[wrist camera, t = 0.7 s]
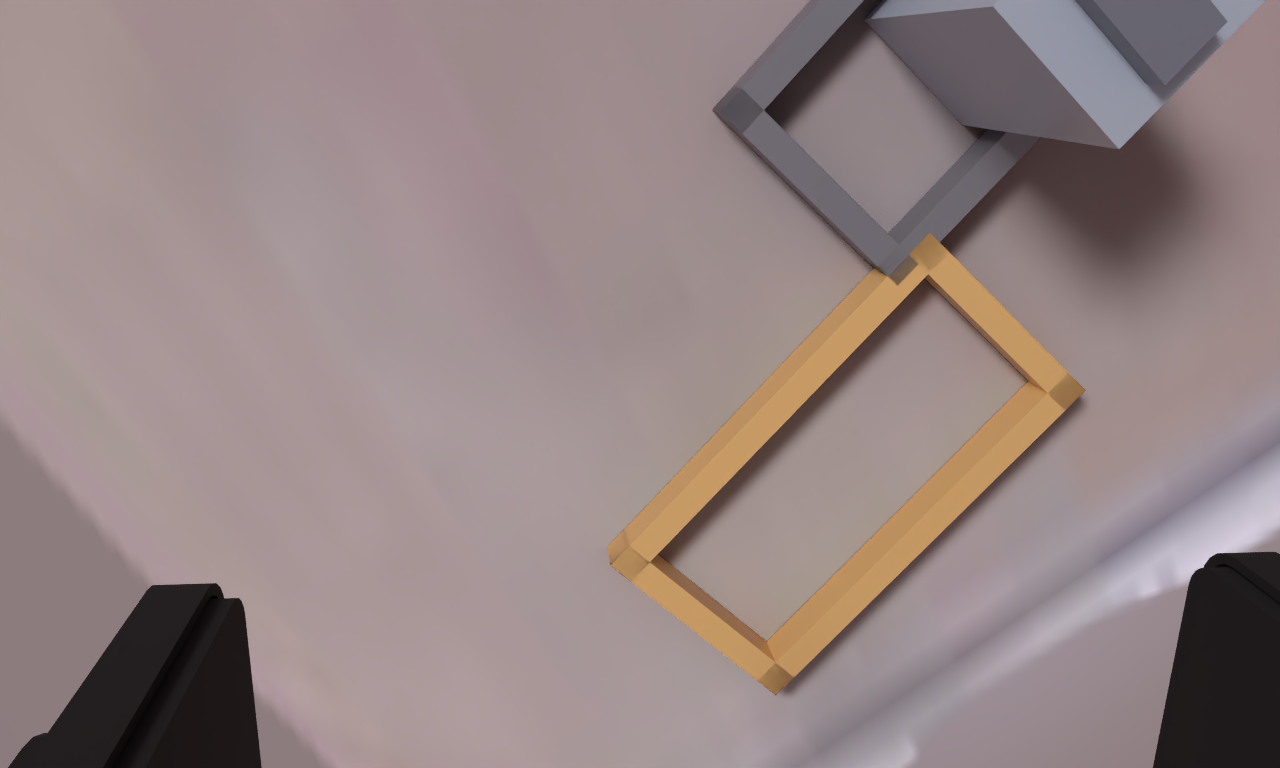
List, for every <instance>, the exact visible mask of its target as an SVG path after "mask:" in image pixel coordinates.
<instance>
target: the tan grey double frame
mask: <svg viewBox="0 0 1280 768" xmlns="http://www.w3.org/2000/svg"><path fill="white" fill-rule="evenodd" d="M863 1H864V0H811V1H810V2H809V3H808V4H807V5H806V6H805V7H804V8H803V9H802V11H801V12H800V13H799V14H798V15H797V16H796V17H795V18H794V19H793V21H792V22H791V23H790V24H789V25H788V26H787V27H786V28H785V29H784V31H783V32H782V33H781V34H780V35H779V36H778V37H777V38H776V40H775V41H774V42H773V43H772V44H771V45H770V46H769V47H768V48H767V50H766V51H765V52H764V53H763V54H762V55H761V56H760V57H759V58H758V60H757V61H756V62H755V63H754V64H753V65H752V66H751V67H750V68H749V70H748V71H747V72H746V73H745V74H744V75H743V76H742V77H741V78H740V80H739V81H738V82H737V83H736V84H735V85H734V86H733V87H732V88H731V90H730V91H729V92H728V93H727V94H726V95H725V96H724V97H723V98H722V100H721V101H720V102H719V103H718V104H717V105H716V106H715V107H714V108H713V111H714V112H715V113H716V114H717V115H718V116H719V117H720V118H721V119H722V120H723V121H724V122H725V123H726V124H727V125H728V126H729V127H730V128H731V129H732V130H733V131H734V132H735V133H736V134H737V135H738V136H739V137H740V138H741V139H742V140H743V141H744V142H745V143H746V144H747V145H748V146H749V147H750V148H751V149H752V150H753V151H754V152H755V153H756V154H758V155H759V156H760V157H761V158H762V159H763V160H764V161H765V162H766V163H767V164H768V165H769V166H770V167H771V168H772V169H773V170H774V171H775V172H776V173H777V174H778V175H779V176H780V177H781V178H782V179H783V180H784V181H785V182H786V183H787V184H788V185H789V186H790V187H791V188H792V189H793V190H794V191H795V192H796V193H797V194H798V195H799V196H800V197H801V198H802V199H803V200H805V201H806V202H807V203H808V204H809V205H810V206H811V207H812V208H813V209H814V210H815V211H816V212H817V213H818V214H819V215H820V216H821V217H822V218H823V219H824V220H825V221H826V222H827V223H828V224H829V225H830V226H831V227H832V228H833V229H834V230H835V231H836V232H837V233H838V234H839V235H840V236H841V237H842V238H843V239H844V240H845V241H846V242H847V243H848V244H849V245H850V246H852V247H853V248H854V249H855V250H856V251H857V252H858V253H859V254H860V255H861V256H862V257H863V258H864V259H865V260H866V261H867V262H868V263H869V264H870V265H871V266H872V267H873V268H874V269H873V270H872V271H871V272H870V273H869V274H868V275H867V276H866V277H865V278H864V279H863V280H862V281H861V282H860V283H859V284H858V285H857V286H856V287H855V288H854V289H853V291H852V292H851V293H850V294H849V295H848V296H847V297H846V298H845V299H844V300H843V301H842V302H841V303H840V304H839V305H838V306H837V307H836V308H835V309H834V310H833V311H832V313H831V314H830V315H829V316H828V317H827V318H826V319H825V320H824V321H823V322H822V323H821V324H820V325H819V326H818V327H817V328H816V329H815V330H814V331H813V332H812V333H811V335H810V336H809V337H808V338H807V339H806V340H805V341H804V342H803V343H802V344H801V345H800V346H799V347H798V348H797V349H796V350H795V351H794V352H793V353H792V354H791V355H790V356H789V358H788V359H787V360H786V361H785V362H784V363H783V364H782V365H781V366H780V367H779V368H778V369H777V370H776V371H775V372H774V373H773V374H772V375H771V376H770V377H769V378H768V380H767V381H766V382H765V383H764V384H763V385H762V386H761V387H760V388H759V389H758V390H757V391H756V392H755V393H754V394H753V395H752V396H751V397H750V398H749V399H748V400H747V402H746V403H745V404H744V405H743V406H742V407H741V408H740V409H739V410H738V411H737V412H736V413H735V414H734V415H733V416H732V417H731V418H730V419H729V420H728V421H727V422H726V424H725V425H724V426H723V427H722V428H721V429H720V430H719V431H718V432H717V433H716V434H715V435H714V436H713V437H712V438H711V439H710V440H709V441H708V442H707V443H706V444H705V446H704V447H703V448H702V449H701V450H700V451H699V452H698V453H697V454H696V455H695V456H694V457H693V458H692V459H691V460H690V461H689V462H688V463H687V464H686V465H685V466H684V467H683V469H682V470H681V471H680V472H679V473H678V474H677V475H676V476H675V477H674V478H673V479H672V480H671V481H670V482H669V483H668V484H667V485H666V486H665V487H664V488H663V489H662V491H661V492H660V493H659V494H658V495H657V496H656V497H655V498H654V499H653V500H652V501H651V502H650V503H649V504H648V505H647V506H646V507H645V508H644V509H643V510H642V511H641V513H640V514H639V515H638V516H637V517H636V518H635V519H634V520H633V521H632V522H631V523H630V524H629V525H628V526H627V527H626V528H625V529H624V530H623V531H622V532H621V533H620V535H619V536H618V537H617V538H616V539H615V540H614V541H613V542H612V543H611V544H610V545H609V546H608V547H607V549H608V555H609V560H610V566H612V567H613V568H614V569H615V570H617V571H618V572H619V573H620V574H622V575H623V576H624V577H626V578H627V579H628V580H629V581H631V582H632V583H633V584H634V585H636V586H637V587H638V588H640V589H641V590H642V591H643V592H645V593H646V594H647V595H648V596H650V597H651V598H652V599H654V600H655V601H656V602H657V603H659V604H660V605H661V606H662V607H664V608H665V609H666V610H668V611H669V612H670V613H671V614H673V615H674V616H675V617H676V618H678V619H679V620H680V621H682V622H683V623H684V624H685V625H687V626H688V627H689V628H691V629H692V630H693V631H694V632H696V633H697V634H698V635H699V636H701V637H702V638H703V639H705V640H706V641H707V642H708V643H710V644H711V645H712V646H713V647H715V648H716V649H717V650H719V651H720V652H721V653H722V654H724V655H725V656H726V657H727V658H729V659H730V660H731V661H733V662H734V663H735V664H736V665H738V666H739V667H740V668H741V669H743V670H744V671H745V672H747V673H748V674H749V675H750V676H752V677H753V678H754V679H755V680H757V681H758V682H759V683H761V684H762V685H763V686H764V687H766V688H767V689H768V690H769V691H771V692H772V693H773V694H775V695H777V694H778V693H779V692H780V691H781V690H782V689H783V688H784V687H785V686H786V685H787V684H788V683H789V682H790V681H791V680H792V679H793V678H794V677H795V676H796V675H797V674H798V673H799V672H800V671H801V670H802V669H803V668H804V667H805V666H806V665H807V664H808V663H809V662H810V661H811V660H812V659H813V658H814V657H815V656H816V655H817V654H818V653H819V652H820V651H821V650H822V649H823V648H824V647H825V646H826V645H828V644H829V643H830V642H831V641H832V640H833V639H834V638H835V637H836V636H837V635H838V634H839V633H840V632H841V631H842V630H843V629H844V628H845V627H846V626H847V625H848V624H849V623H850V622H851V621H852V620H853V619H854V618H855V617H856V616H857V615H858V614H859V613H860V612H861V611H862V610H863V609H864V608H865V607H866V606H867V605H868V604H869V603H870V602H871V601H872V600H873V599H874V598H875V597H876V596H877V595H878V594H879V593H880V592H881V591H882V590H883V589H884V588H885V587H886V586H887V585H888V584H889V583H891V582H892V581H893V580H894V579H895V578H896V577H897V576H898V575H899V574H900V573H901V572H902V571H903V570H904V569H905V568H906V567H907V566H908V565H909V564H910V563H911V562H912V561H913V560H914V559H915V558H916V557H917V556H918V555H919V554H920V553H921V552H922V551H923V550H924V549H925V548H926V547H927V546H928V545H929V544H930V543H931V542H932V541H933V540H934V539H935V538H936V537H937V536H938V535H939V534H940V533H941V532H942V531H943V530H944V529H945V528H946V527H947V526H948V525H949V524H950V523H951V522H952V521H954V520H955V519H956V518H957V517H958V516H959V515H960V514H961V513H962V512H963V511H964V510H965V509H966V508H967V507H968V506H969V505H970V504H971V503H972V502H973V501H974V500H975V499H976V498H977V497H978V496H979V495H980V494H981V493H982V492H983V491H984V490H985V489H986V488H987V487H988V486H989V485H990V484H991V483H992V482H993V481H994V480H995V479H996V478H997V477H998V476H999V475H1000V474H1001V473H1002V472H1003V471H1004V470H1005V469H1006V468H1007V467H1008V466H1009V465H1010V464H1011V463H1012V462H1013V461H1014V460H1015V459H1016V458H1018V457H1019V456H1020V455H1021V454H1022V453H1023V452H1024V451H1025V450H1026V449H1027V448H1028V447H1029V446H1030V445H1031V444H1032V443H1033V442H1034V441H1035V440H1036V439H1037V438H1038V437H1039V436H1040V435H1041V434H1042V433H1043V432H1044V431H1045V430H1046V429H1047V428H1048V427H1049V426H1050V425H1051V424H1052V423H1053V422H1054V421H1055V420H1056V419H1057V418H1058V417H1059V416H1060V415H1061V414H1062V413H1063V412H1064V411H1065V410H1066V409H1067V408H1068V407H1069V406H1070V405H1071V404H1072V403H1073V402H1074V401H1075V400H1076V399H1077V398H1078V397H1079V396H1081V395H1082V394H1083V393H1084V392H1085V391H1086V390H1085V389H1084V388H1083V387H1082V386H1081V385H1080V384H1079V383H1078V382H1077V381H1076V380H1075V379H1074V378H1073V377H1072V376H1071V375H1070V374H1069V373H1068V372H1067V371H1066V370H1065V369H1064V368H1063V367H1062V366H1061V365H1060V364H1059V363H1058V362H1057V361H1056V360H1055V359H1054V358H1053V357H1052V356H1051V355H1050V354H1049V353H1048V352H1047V351H1046V350H1045V349H1044V348H1043V347H1042V346H1041V345H1040V344H1039V343H1038V342H1037V341H1036V340H1035V339H1034V338H1033V337H1032V336H1031V335H1030V334H1029V333H1028V332H1027V331H1026V330H1025V329H1024V327H1023V326H1022V325H1021V324H1020V323H1019V322H1018V321H1017V320H1016V319H1015V318H1014V317H1013V316H1012V315H1011V314H1010V313H1009V312H1008V311H1007V310H1006V309H1005V308H1004V307H1003V306H1002V305H1001V304H1000V303H999V302H998V301H997V300H996V299H995V298H994V297H993V296H992V295H991V294H990V293H989V292H988V291H987V290H986V289H985V288H984V287H983V286H982V285H981V284H980V283H979V282H978V281H977V280H976V279H975V278H974V277H973V276H972V275H971V274H970V273H969V272H968V271H967V270H966V269H965V268H964V267H963V266H962V265H961V264H960V263H959V262H958V261H957V260H956V259H955V258H954V256H953V255H952V254H951V253H950V252H949V251H948V250H947V249H946V248H945V247H944V246H943V245H942V244H941V243H940V242H941V241H942V240H943V238H944V237H945V236H946V235H947V234H948V233H949V232H950V231H951V230H952V229H953V228H954V227H955V226H956V225H957V224H958V223H959V222H960V221H961V220H962V219H963V218H964V217H965V216H966V215H967V214H968V213H969V211H970V210H971V209H972V208H973V207H974V206H975V205H976V204H977V203H978V202H979V201H980V200H981V199H982V198H983V197H984V196H985V195H986V194H987V193H988V192H989V191H990V190H991V189H992V188H993V187H994V185H995V184H996V183H997V182H998V181H999V180H1000V179H1001V178H1002V177H1003V176H1004V175H1005V174H1006V173H1007V172H1008V171H1009V170H1010V169H1011V168H1012V167H1013V166H1014V165H1015V164H1016V163H1017V162H1018V161H1019V160H1020V158H1021V157H1022V156H1023V155H1024V154H1025V153H1026V152H1027V151H1028V150H1029V149H1030V148H1031V147H1032V146H1033V145H1034V144H1035V143H1036V142H1037V141H1038V140H1039V139H1040V138H1041V137H1036V136H1030V135H1023V134H1017V133H1011V132H1004V131H998V130H991V129H987V130H986V131H985V132H984V134H983V135H982V136H981V137H980V138H979V139H978V140H977V141H976V142H975V143H974V144H973V145H972V146H971V147H970V148H969V149H968V150H967V151H966V152H965V154H964V155H963V156H962V157H961V158H960V159H959V160H958V161H957V162H956V163H955V164H954V165H953V166H952V167H951V168H950V169H949V170H948V171H947V172H946V173H945V175H944V176H943V177H942V178H941V179H940V180H939V181H938V182H937V183H936V184H935V185H934V186H933V187H932V188H931V189H930V190H929V191H928V192H927V193H926V194H925V196H924V197H923V198H922V199H921V200H920V201H919V202H918V203H917V204H916V205H915V206H914V207H913V208H912V209H911V210H910V211H909V212H908V213H907V214H906V216H905V217H904V218H903V219H902V220H901V221H900V222H899V223H898V224H897V225H896V226H895V227H894V228H893V229H892V230H891V231H890V232H889V233H887V232H886V231H885V230H884V229H883V228H882V227H881V226H880V225H879V224H878V223H877V222H876V221H875V220H874V219H873V218H872V217H871V216H870V215H869V214H868V213H867V212H866V211H865V210H864V209H863V208H861V207H860V206H859V205H858V204H857V203H856V202H855V201H854V200H853V199H852V198H851V197H850V196H849V195H848V194H847V193H846V192H845V191H844V190H843V189H842V188H841V187H840V186H839V185H838V184H837V183H836V182H835V181H834V180H833V179H832V178H831V177H830V176H829V175H828V174H827V173H826V172H825V171H824V170H823V169H822V168H821V167H820V166H819V165H818V164H817V163H816V162H815V161H814V160H813V159H812V158H811V157H810V156H809V155H808V154H807V153H806V152H805V151H804V150H803V149H802V148H801V147H800V146H799V145H798V144H797V143H796V142H795V141H794V140H793V139H792V138H791V137H790V136H789V135H788V134H787V133H786V132H785V131H784V130H783V129H782V128H781V127H780V126H779V125H778V124H777V123H776V122H775V121H774V120H773V119H772V118H771V117H770V116H769V115H768V114H767V113H766V112H765V111H764V110H765V108H766V107H767V106H768V105H769V104H770V103H771V102H772V101H773V100H774V99H775V97H776V96H777V95H778V94H779V93H780V92H781V91H782V90H783V89H784V88H785V86H786V85H787V84H788V83H789V82H790V81H791V80H792V79H793V78H794V77H795V75H796V74H797V73H798V72H799V71H800V70H801V69H802V68H803V67H804V66H805V64H806V63H807V62H808V61H809V60H810V59H811V58H812V57H813V56H814V55H815V53H816V52H817V51H818V50H819V49H820V48H821V47H822V46H823V45H824V44H825V42H826V41H827V40H828V39H829V38H830V37H831V36H832V35H833V34H834V33H835V31H836V30H837V29H838V28H839V27H840V26H841V25H842V24H843V23H844V22H845V20H846V19H847V18H848V17H849V16H850V15H851V14H852V13H853V12H854V11H855V9H856V8H857V7H858V6H859V5H860V4H861V3H862V2H863ZM924 278H925V279H926V280H927V281H928V282H929V283H930V284H931V285H932V286H933V287H934V288H935V289H936V290H937V291H938V292H939V293H940V294H941V295H942V296H943V297H944V298H945V299H947V300H948V301H949V302H950V303H951V304H952V305H953V306H954V307H955V308H956V309H957V310H958V311H959V312H960V313H961V314H962V315H963V316H964V317H965V318H966V319H967V320H968V321H969V322H970V323H971V324H972V325H973V326H974V327H975V328H976V329H977V330H978V331H979V332H980V333H981V334H982V335H983V336H984V337H985V338H986V339H987V340H988V341H989V342H990V343H991V344H992V345H993V346H994V347H995V348H996V349H997V350H998V351H999V352H1000V353H1001V354H1002V355H1003V356H1004V357H1005V358H1006V359H1007V360H1008V361H1009V362H1010V363H1011V364H1012V365H1013V366H1014V367H1015V368H1016V369H1017V370H1018V371H1019V372H1020V373H1021V374H1022V375H1023V376H1024V377H1025V378H1026V379H1027V380H1028V382H1027V383H1026V384H1025V385H1024V386H1023V387H1022V388H1021V389H1020V390H1019V391H1018V392H1017V393H1016V394H1015V395H1014V396H1013V397H1012V398H1011V399H1010V400H1009V401H1008V402H1007V403H1006V404H1005V405H1004V406H1003V407H1002V408H1001V409H1000V410H999V411H998V412H997V413H996V414H995V415H994V416H993V417H992V418H991V419H990V420H989V421H988V422H987V423H986V424H985V425H984V426H983V427H982V428H981V429H980V430H979V431H978V432H977V433H976V434H975V435H974V436H973V437H972V438H971V439H970V440H969V441H968V442H967V443H966V444H965V445H964V446H963V447H962V448H961V449H960V450H959V451H958V452H957V453H956V454H955V455H954V456H953V457H952V458H951V459H950V460H949V461H948V462H947V463H946V464H945V465H944V466H943V467H942V468H941V469H940V470H939V471H938V472H937V473H936V474H935V475H934V476H933V477H932V478H931V479H930V480H929V481H928V482H927V483H926V484H925V485H924V486H923V487H922V488H921V489H920V490H919V491H918V492H917V493H916V494H915V495H914V496H913V497H912V498H911V499H910V500H909V501H908V502H907V503H906V504H905V505H904V506H903V507H902V508H901V509H900V510H899V511H898V512H897V513H896V514H895V515H894V516H893V517H892V518H891V519H890V520H889V521H888V522H887V523H886V524H885V525H884V526H883V527H882V528H881V529H880V530H879V531H878V532H877V533H876V534H875V535H874V536H873V537H872V538H871V539H870V540H869V541H868V542H867V543H866V544H865V545H864V546H863V547H862V548H861V549H860V550H859V551H858V552H857V553H856V554H855V555H854V556H853V557H852V558H851V559H850V560H849V561H848V562H847V563H846V564H845V565H844V566H843V567H842V568H841V569H840V570H839V571H838V572H837V573H836V574H835V575H834V576H833V577H832V578H831V579H830V580H829V581H828V582H827V583H826V584H825V585H823V586H822V587H821V588H820V589H819V590H818V591H817V592H816V593H815V594H814V595H813V596H812V597H811V598H810V599H809V600H808V601H807V602H806V603H805V604H804V605H803V606H802V607H801V608H800V609H799V610H798V611H797V612H796V613H795V614H794V615H793V616H792V617H791V618H790V619H789V620H788V621H787V622H786V623H785V624H784V625H783V626H782V627H781V628H780V629H779V630H778V631H777V632H776V633H775V634H774V635H773V636H772V637H771V638H770V639H769V640H768V641H767V642H766V641H765V640H764V639H763V638H761V637H760V636H759V635H758V634H756V633H755V632H754V631H753V630H751V629H750V628H749V627H748V626H746V625H745V624H744V623H743V622H741V621H740V620H739V619H738V618H736V617H735V616H734V615H733V614H731V613H730V612H729V611H728V610H726V609H725V608H724V607H723V606H721V605H720V604H719V603H718V602H716V601H715V600H714V599H713V598H711V597H710V596H709V595H708V594H706V593H705V592H704V591H703V590H701V589H700V588H699V587H698V586H696V585H695V584H694V583H693V582H691V581H690V580H689V579H688V578H686V577H685V576H684V575H683V574H681V573H680V572H679V571H678V570H677V569H675V568H674V567H673V566H672V565H670V564H669V563H668V562H667V561H665V560H664V559H663V558H662V557H660V556H659V555H658V553H659V552H660V551H661V550H662V549H663V548H664V547H665V546H666V545H667V544H668V543H669V542H670V541H671V540H672V539H673V538H674V537H675V536H676V535H677V534H678V533H679V532H680V531H681V530H682V528H683V527H684V526H685V525H686V524H687V523H688V522H689V521H690V520H691V519H692V518H693V517H694V516H695V515H696V514H697V513H698V512H699V511H700V510H701V509H702V508H703V507H704V506H705V505H706V504H707V503H708V502H709V501H710V500H711V498H712V497H713V496H714V495H715V494H716V493H717V492H718V491H719V490H720V489H721V488H722V487H723V486H724V485H725V484H726V483H727V482H728V481H729V480H730V479H731V478H732V477H733V476H734V475H735V474H736V473H737V472H738V471H739V469H740V468H741V467H742V466H743V465H744V464H745V463H746V462H747V461H748V460H749V459H750V458H751V457H752V456H753V455H754V454H755V453H756V452H757V451H758V450H759V449H760V448H761V447H762V446H763V445H764V444H765V443H766V442H767V440H768V439H769V438H770V437H771V436H772V435H773V434H774V433H775V432H776V431H777V430H778V429H779V428H780V427H781V426H782V425H783V424H784V423H785V422H786V421H787V420H788V419H789V418H790V417H791V416H792V415H793V414H794V413H795V411H796V410H797V409H798V408H799V407H800V406H801V405H802V404H803V403H804V402H805V401H806V400H807V399H808V398H809V397H810V396H811V395H812V394H813V393H814V392H815V391H816V390H817V389H818V388H819V387H820V386H821V385H822V384H823V383H824V381H825V380H826V379H827V378H828V377H829V376H830V375H831V374H832V373H833V372H834V371H835V370H836V369H837V368H838V367H839V366H840V365H841V364H842V363H843V362H844V361H845V360H846V359H847V358H848V357H849V356H850V355H851V354H852V352H853V351H854V350H855V349H856V348H857V347H858V346H859V345H860V344H861V343H862V342H863V341H864V340H865V339H866V338H867V337H868V336H869V335H870V334H871V333H872V332H873V331H874V330H875V329H876V328H877V327H878V326H879V325H880V323H881V322H882V321H883V320H884V319H885V318H886V317H887V316H888V315H889V314H890V313H891V312H892V311H893V310H894V309H895V308H896V307H897V306H898V305H899V304H900V303H901V302H902V301H903V300H904V299H905V298H906V297H907V296H908V294H909V293H910V292H911V291H912V290H913V289H914V288H915V287H916V286H917V285H918V284H919V283H920V282H921V281H922V280H923V279H924Z"/></svg>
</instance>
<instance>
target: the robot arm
mask: <svg viewBox="0 0 1280 768" xmlns="http://www.w3.org/2000/svg"><path fill="white" fill-rule="evenodd" d="M8 768H261V759H260V750H259V740H258V730H257V721H256V713H255V703H254V693H253V684H252V675H251V665H250V656H249V647H248V638H247V628H246V619H245V612H244V607H243V604H242V601H241V600H240V599H239V598H229V599H224V596H223V593H222V590H221V588H220V587H219V585H218V584H217V583H213V584H179V585H153V586H151V587H150V588H149V589H148V590H147V591H146V593H145V594H144V596H143V597H142V599H141V600H140V601H139V603H138V604H137V606H136V607H135V608H134V610H133V611H132V613H131V614H130V616H129V617H128V618H127V620H126V621H125V623H124V624H123V626H122V627H121V629H120V630H119V631H118V633H117V634H116V636H115V637H114V639H113V640H112V642H111V643H110V644H109V646H108V647H107V649H106V650H105V652H104V653H103V655H102V656H101V658H100V659H99V660H98V662H97V663H96V665H95V666H94V668H93V669H92V670H91V672H90V673H89V675H88V676H87V678H86V679H85V680H84V682H83V683H82V685H81V686H80V688H79V689H78V690H77V692H76V693H75V695H74V696H73V698H72V699H71V700H70V702H69V703H68V705H67V706H66V708H65V709H64V711H63V712H62V713H61V715H60V716H59V718H58V719H57V721H56V722H55V724H54V725H53V726H52V728H51V729H50V731H49V732H48V733H43V734H40V735H38V736H35V737H33V738H32V739H31V740H30V741H29V742H28V743H27V744H26V745H25V746H24V747H23V748H22V749H21V751H20V752H19V753H18V755H17V756H16V757H15V759H14V760H13V762H12V763H11V764H10V766H9V767H8ZM1153 768H1280V554H1278V553H1276V552H1250V553H1217V554H1215V555H1214V556H1212V557H1210V558H1209V560H1208V561H1207V562H1206V564H1205V565H1204V568H1200V569H1198V570H1197V571H1195V572H1194V574H1193V575H1192V577H1191V580H1190V583H1189V586H1188V591H1187V597H1186V602H1185V607H1184V612H1183V617H1182V622H1181V627H1180V632H1179V637H1178V643H1177V648H1176V653H1175V658H1174V663H1173V668H1172V673H1171V678H1170V684H1169V689H1168V694H1167V699H1166V704H1165V709H1164V714H1163V719H1162V724H1161V729H1160V734H1159V739H1158V744H1157V750H1156V755H1155V760H1154V765H1153Z"/></svg>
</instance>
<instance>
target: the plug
mask: <svg viewBox="0 0 1280 768" xmlns="http://www.w3.org/2000/svg"><path fill="white" fill-rule="evenodd" d="M1264 1H1265V0H882V1H881V2H880V3H879V4H878V5H877V6H876V7H875V8H874V10H873V11H872V12H871V13H870V14H869V15H868V16H867V17H866V18H865V19H864V20H865V21H866V22H867V23H868V24H869V25H870V27H871V28H872V29H873V30H874V31H875V32H876V33H877V34H878V35H879V36H880V37H881V38H882V39H883V40H884V42H885V43H886V44H887V45H888V46H889V47H890V48H891V49H892V50H893V51H894V52H895V53H896V54H897V55H898V57H899V58H900V59H901V60H902V61H903V62H904V63H905V64H906V65H907V66H908V67H909V68H910V69H911V70H912V72H913V73H914V74H915V75H916V76H917V77H918V78H919V79H920V80H921V81H922V82H923V83H924V84H925V85H926V87H927V88H928V89H929V90H930V91H931V92H932V93H933V94H934V95H935V96H936V97H937V98H938V99H939V100H940V102H941V103H942V104H943V105H944V106H945V107H946V108H947V109H948V110H949V111H950V112H951V113H952V114H953V115H954V117H955V118H956V119H957V120H958V121H959V122H960V123H961V124H962V125H965V126H972V127H978V128H985V129H991V130H998V131H1004V132H1011V133H1017V134H1023V135H1030V136H1036V137H1043V138H1049V139H1056V140H1062V141H1068V142H1075V143H1081V144H1088V145H1094V146H1101V147H1107V148H1113V149H1120V148H1121V147H1122V146H1123V145H1124V144H1125V143H1126V142H1127V141H1128V140H1129V139H1130V138H1131V137H1132V136H1133V135H1134V134H1135V133H1136V132H1137V131H1138V130H1139V129H1140V128H1141V127H1142V126H1143V125H1144V124H1145V123H1146V122H1147V121H1148V120H1149V119H1150V117H1151V116H1152V115H1153V114H1154V113H1155V112H1156V111H1157V110H1158V109H1159V108H1160V107H1161V106H1162V105H1163V104H1164V103H1165V102H1166V101H1167V100H1168V99H1169V98H1170V97H1171V96H1172V95H1173V94H1174V93H1175V92H1176V91H1177V90H1178V89H1179V88H1180V87H1181V86H1182V85H1183V84H1184V83H1185V82H1186V81H1187V80H1188V79H1189V78H1190V77H1191V76H1192V75H1193V74H1194V73H1195V72H1196V71H1197V69H1198V68H1199V67H1200V66H1201V65H1202V64H1203V63H1204V62H1205V61H1206V60H1207V59H1208V58H1209V57H1210V56H1211V55H1212V54H1213V53H1214V52H1215V51H1216V50H1217V49H1218V48H1219V47H1220V46H1221V45H1222V44H1223V43H1224V42H1225V41H1226V40H1227V39H1228V38H1229V37H1230V36H1231V35H1232V34H1233V33H1234V32H1235V31H1236V30H1237V29H1238V28H1239V27H1240V26H1241V25H1242V24H1243V23H1244V21H1245V20H1246V19H1247V18H1248V17H1249V16H1250V15H1251V14H1252V13H1253V12H1254V11H1255V10H1256V9H1257V8H1258V7H1259V6H1260V5H1261V4H1262V3H1263V2H1264Z"/></svg>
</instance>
